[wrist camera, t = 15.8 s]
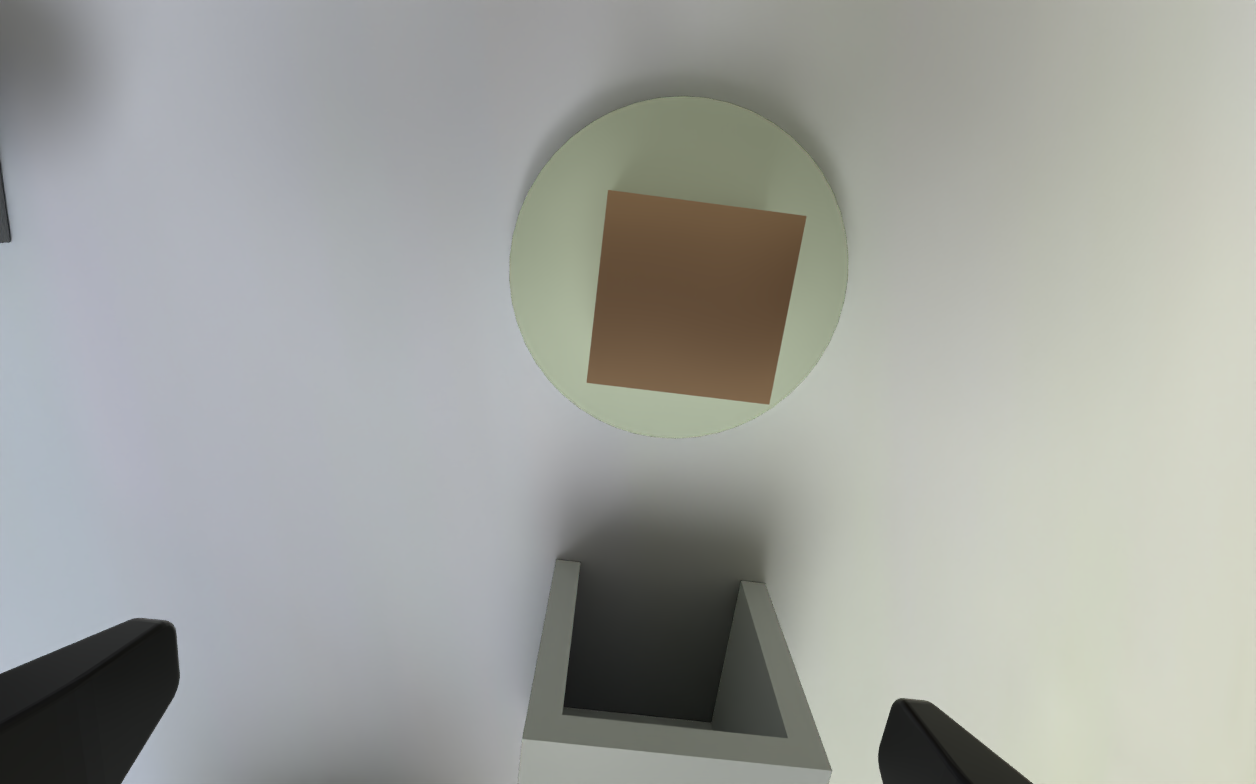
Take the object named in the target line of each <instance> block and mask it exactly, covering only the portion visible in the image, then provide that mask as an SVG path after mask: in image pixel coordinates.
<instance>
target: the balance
mask: <svg viewBox="0 0 1256 784" xmlns="http://www.w3.org/2000/svg"><path fill="white" fill-rule="evenodd" d="M6 242H10V235H9V228H8V221H7V214H6V207H5V200H4V193H3V186H2V178H1V171H0V243H6Z"/></svg>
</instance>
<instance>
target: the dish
mask: <svg viewBox="0 0 1256 784" xmlns="http://www.w3.org/2000/svg"><path fill="white" fill-rule="evenodd" d="M608 190H613V191H621V192H628V193H636V194H644V195H651V196H659V197H666V198H674V199H682V200H689V201H697V202H704V203H712V204H720V205H727V206H735V207H743V208H750V209H758V210H765V211H773V212H781V213H788V214H796V215H803V216H807V217H806V222H805V227H804V232H803V237H802V242H801V247H800V253H799V258H798V263H797V268H796V273H795V278H794V283H793V288H792V293H791V298H790V303H789V308H788V313H787V318H786V323H785V328H784V333H783V338H782V343H781V348H780V353H779V358H778V364H777V369H776V374H775V379H774V384H773V389H772V394H771V399H770V404H769V405H768V404H759V403H751V402H742V401H734V400H726V399H717V398H709V397H701V396H692V395H684V394H676V393H667V392H659V391H650V390H642V389H634V388H625V387H617V386H609V385H600V384H592V383H587V374H588V365H589V356H590V347H591V338H592V329H593V320H594V311H595V302H596V293H597V284H598V275H599V266H600V257H601V248H602V239H603V230H604V221H605V212H606V203H607V194H608ZM847 280H848V250H847V240H846V233H845V228H844V224H843V220H842V216H841V212H840V209H839V207H838V204H837V202H836V199H835V197H834V194H833V191H832V190H831V188H830V186H829V184H828V182H827V181H826V179H825V177H824V175H823V173H822V171H821V170H820V169H819V167H818V166H817V165H816V163H815V162H814V161H813V159H812V158H811V157H810V155H809V154H808V153H807V152H806V151H805V150H804V149H803V148H802V147H801V146H800V145H799V144H798V143H797V142H796V141H795V140H794V139H793V138H792V137H791V136H790V135H789V134H787V133H786V132H785V131H783V130H782V129H781V128H779V127H778V126H777V125H775V124H774V123H773V122H771V121H769V120H767V119H765V118H764V117H762V116H760V115H758V114H756V113H754V112H753V111H750V110H748V109H745V108H742V107H740V106H737V105H734V104H731V103H728V102H724V101H719V100H714V99H710V98H703V97H689V96H677V97H663V98H655V99H651V100H646V101H642V102H637V103H634V104H631V105H628V106H625V107H623V108H620V109H617V110H615V111H612V112H610V113H608V114H606V115H605V116H603V117H601V118H599V119H597V120H595V121H593V122H592V123H590V124H589V125H587V126H586V127H585V128H583V129H582V130H581V131H579V132H578V133H576V134H575V135H574V136H572V137H571V138H570V139H569V140H568V141H567V142H566V143H565V144H564V145H563V146H562V147H561V148H560V149H559V150H558V151H557V152H556V153H555V154H554V155H553V156H552V158H551V159H550V160H549V161H548V163H547V164H546V165H545V166H544V168H543V169H542V170H541V171H540V173H539V175H538V176H537V178H536V180H535V181H534V183H533V185H532V186H531V188H530V190H529V191H528V194H527V196H526V198H525V201H524V203H523V205H522V208H521V210H520V212H519V215H518V219H517V223H516V226H515V230H514V233H513V238H512V245H511V252H510V272H509V281H510V290H511V298H512V304H513V308H514V312H515V316H516V320H517V324H518V326H519V329H520V332H521V334H522V337H523V339H524V342H525V344H526V346H527V348H528V349H529V351H530V353H531V355H532V357H533V359H534V360H535V362H536V364H537V365H538V366H539V368H540V369H541V370H542V372H543V373H544V374H545V376H546V377H547V379H548V380H549V381H550V382H551V383H552V384H553V385H554V386H555V387H556V388H557V389H558V390H559V391H560V392H561V393H562V395H564V396H565V397H566V398H567V399H569V400H570V401H571V402H572V403H573V404H575V405H576V406H577V407H578V408H580V409H582V410H583V411H585V412H586V413H588V414H590V415H591V416H593V417H594V418H596V419H598V420H600V421H602V422H605V423H607V424H609V425H611V426H613V427H616V428H619V429H622V430H625V431H628V432H631V433H635V434H640V435H645V436H651V437H660V438H690V437H699V436H704V435H710V434H715V433H719V432H722V431H725V430H728V429H731V428H734V427H737V426H739V425H742V424H744V423H746V422H748V421H750V420H752V419H755V418H756V417H758V416H760V415H761V414H763V413H765V412H766V411H768V410H769V409H771V408H773V407H774V406H775V405H777V404H778V403H779V402H780V401H782V400H783V399H784V398H785V397H787V396H788V395H789V394H790V393H791V392H792V391H793V390H794V389H795V388H796V387H797V386H798V385H799V384H800V383H801V382H802V381H803V380H804V379H805V378H806V377H807V375H808V374H809V373H810V371H811V370H812V369H813V368H814V366H815V365H816V364H817V362H818V361H819V359H820V358H821V356H822V354H823V352H824V351H825V349H826V347H827V346H828V344H829V342H830V340H831V337H832V335H833V333H834V331H835V328H836V326H837V324H838V321H839V317H840V314H841V311H842V307H843V304H844V299H845V293H846V287H847Z"/></svg>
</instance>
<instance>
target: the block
mask: <svg viewBox="0 0 1256 784" xmlns="http://www.w3.org/2000/svg"><path fill="white" fill-rule="evenodd" d="M806 217H807V216H803V215H796V214H788V213H781V212H773V211H765V210H758V209H750V208H743V207H735V206H727V205H720V204H712V203H704V202H697V201H689V200H682V199H674V198H666V197H659V196H651V195H644V194H636V193H628V192H621V191H613V190H608V194H607V203H606V212H605V221H604V230H603V239H602V248H601V257H600V266H599V275H598V284H597V293H596V302H595V311H594V320H593V329H592V338H591V347H590V356H589V365H588V374H587V383H592V384H600V385H609V386H617V387H625V388H634V389H642V390H650V391H659V392H667V393H676V394H684V395H692V396H701V397H709V398H717V399H726V400H734V401H742V402H751V403H759V404H768V405H769V404H770V399H771V394H772V389H773V384H774V379H775V374H776V369H777V364H778V358H779V353H780V348H781V343H782V338H783V333H784V328H785V323H786V318H787V313H788V308H789V303H790V298H791V293H792V288H793V283H794V278H795V273H796V268H797V263H798V258H799V253H800V247H801V242H802V237H803V232H804V227H805V222H806Z"/></svg>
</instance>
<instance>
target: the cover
mask: <svg viewBox="0 0 1256 784" xmlns="http://www.w3.org/2000/svg"><path fill="white" fill-rule="evenodd" d="M580 563H581V562H574V561H565V560H556V562H555V568H554V573H553V578H552V584H551V589H550V594H549V599H548V605H547V610H546V615H545V621H544V626H543V631H542V637H541V642H540V647H539V653H538V658H537V663H536V668H535V674H534V679H533V684H532V690H531V695H530V700H529V706H528V711H527V716H526V721H525V727H524V732H523V737H522V746H521V755H520V764H519V774H518V783H517V784H829V780H830V777H831V773H832V769H831V766H830V764H829V761H828V758H827V755H826V752H825V750H824V747H823V744H822V741H821V738H820V736H819V733H818V730H817V727H816V724H815V722H814V719H813V716H812V713H811V710H810V708H809V705H808V702H807V699H806V696H805V694H804V691H803V688H802V685H801V682H800V680H799V677H798V674H797V671H796V669H795V666H794V663H793V660H792V657H791V655H790V652H789V649H788V646H787V643H786V641H785V638H784V635H783V632H782V629H781V627H780V624H779V621H778V618H777V615H776V613H775V610H774V607H773V604H772V601H771V599H770V596H769V593H768V590H767V587H766V585H765V583H757V582H748V581H741V584H740V588H739V593H738V598H737V603H736V607H735V612H734V617H733V622H732V626H731V631H730V636H729V641H728V646H727V650H726V655H725V660H724V665H723V669H722V674H721V679H720V684H719V688H718V693H717V698H716V703H715V708H714V712H713V717H712V722H701V721H692V720H682V719H673V718H663V717H654V716H644V715H635V714H625V713H615V712H606V711H596V710H587V709H577V708H568V707H563V704H564V695H565V687H566V679H567V671H568V662H569V654H570V646H571V637H572V629H573V621H574V613H575V604H576V596H577V588H578V579H579V571H580Z"/></svg>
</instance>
